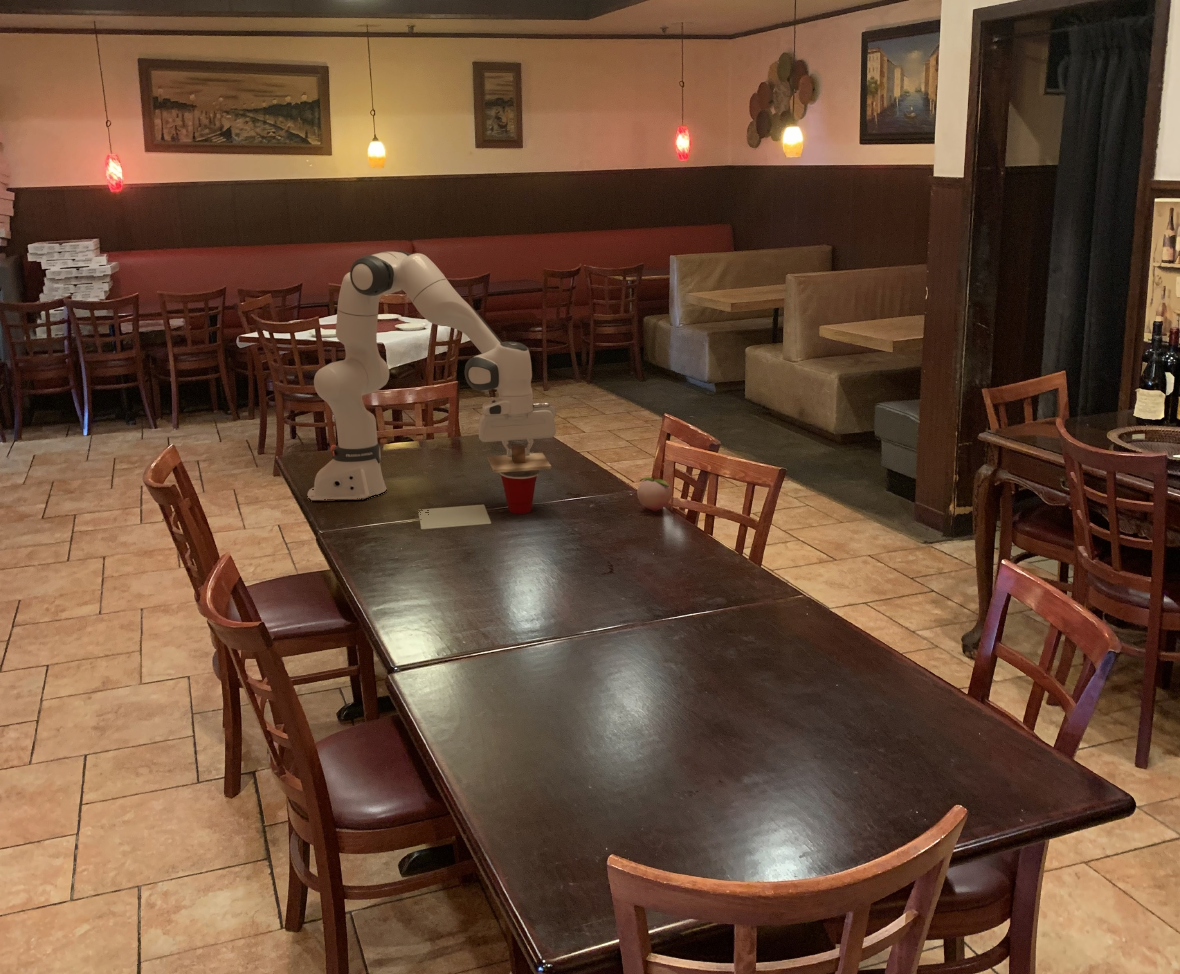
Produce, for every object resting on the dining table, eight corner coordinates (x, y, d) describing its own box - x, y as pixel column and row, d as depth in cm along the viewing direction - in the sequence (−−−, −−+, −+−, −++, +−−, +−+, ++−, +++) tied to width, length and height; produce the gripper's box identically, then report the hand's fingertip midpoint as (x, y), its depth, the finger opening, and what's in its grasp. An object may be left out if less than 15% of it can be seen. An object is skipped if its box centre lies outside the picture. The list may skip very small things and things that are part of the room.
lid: (493, 472, 285) (492, 454, 284) (487, 459, 300) (486, 441, 298) (551, 468, 288) (550, 450, 287) (542, 455, 302) (541, 438, 301)
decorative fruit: (631, 513, 294) (630, 477, 291) (644, 505, 301) (643, 470, 298) (663, 518, 290) (663, 481, 287) (676, 509, 297) (675, 473, 294)
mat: (421, 531, 284) (421, 529, 284) (418, 511, 301) (418, 509, 301) (491, 525, 287) (491, 523, 287) (484, 506, 304) (484, 504, 304)
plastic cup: (523, 521, 290) (521, 476, 287) (492, 514, 296) (490, 471, 293) (549, 511, 298) (547, 467, 295) (518, 504, 305) (517, 462, 302)
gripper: (553, 399, 294) (555, 450, 298) (476, 404, 291) (479, 455, 294) (557, 404, 288) (559, 455, 292) (478, 409, 285) (481, 461, 288)
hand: (518, 455), depth 293 cm, fingers closed on lid, 3 cm apart
